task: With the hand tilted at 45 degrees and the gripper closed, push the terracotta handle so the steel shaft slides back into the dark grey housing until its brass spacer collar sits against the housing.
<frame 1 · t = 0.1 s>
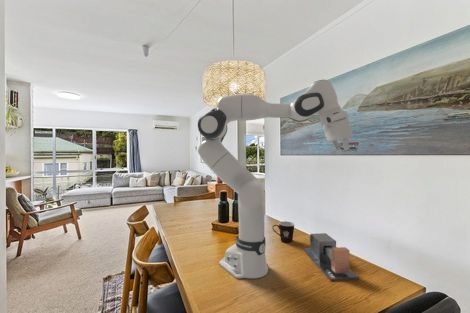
hand: (342, 149, 94), 52 cm above the table, tool tilted 20°, fingers open, 8 cm apart
coffee mug: (284, 240, 131), on the table
housing: (326, 261, 106), on the table
shaft: (331, 252, 101), point 7 cm above the table, slide at 7.0 cm
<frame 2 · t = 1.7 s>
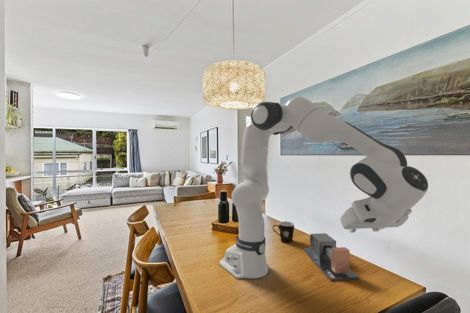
hand: (362, 230, 80), 24 cm above the table, tool tilted 45°, fingers open, 7 cm apart
nothing on the table moved.
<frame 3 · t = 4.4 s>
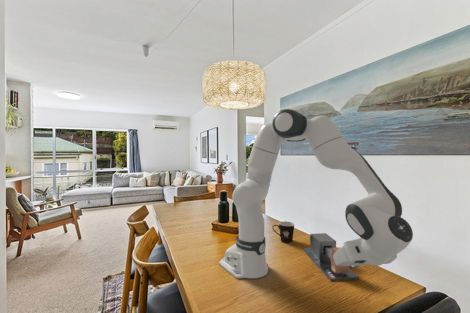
hand: (354, 264, 84), 9 cm above the table, tool tilted 45°, fingers closed
nothing on the table moved.
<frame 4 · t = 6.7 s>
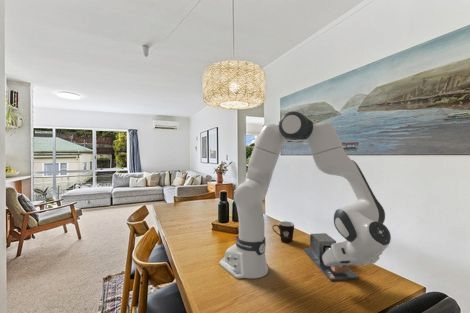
hand: (342, 264, 92), 5 cm above the table, tool tilted 45°, fingers closed, pressing on shaft
shaft: (331, 251, 101), point 7 cm above the table, slide at 6.5 cm, touching gripper
everything else where it was.
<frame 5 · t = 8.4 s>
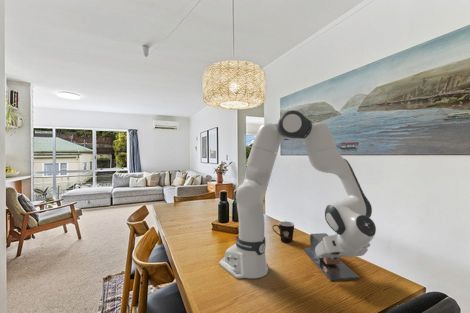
hand: (333, 257, 99), 5 cm above the table, tool tilted 45°, fingers closed, pressing on shaft
shaft: (324, 245, 108), point 7 cm above the table, slide at 0.0 cm, touching gripper
everything else where it was.
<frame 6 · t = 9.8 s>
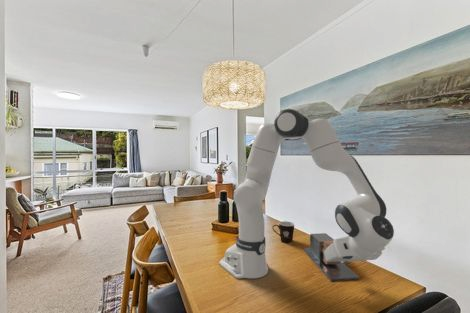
hand: (344, 260, 91), 7 cm above the table, tool tilted 45°, fingers closed
shaft: (324, 245, 108), point 7 cm above the table, slide at 0.0 cm
everything else where it was.
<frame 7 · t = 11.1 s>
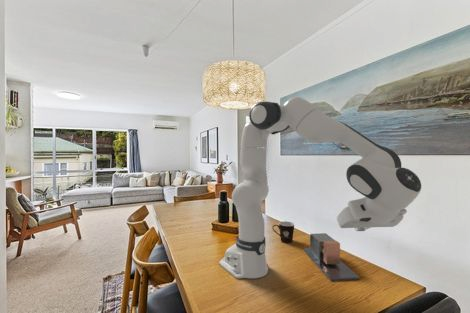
hand: (358, 229, 82), 23 cm above the table, tool tilted 45°, fingers closed
nothing on the table moved.
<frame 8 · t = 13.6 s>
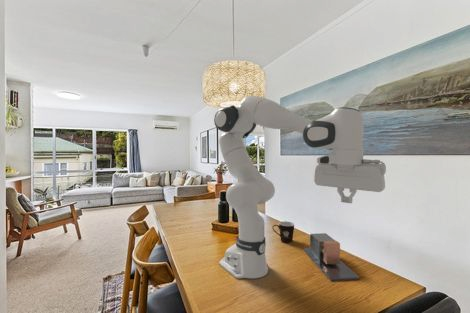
hand: (346, 202, 72), 35 cm above the table, tool pointing down, fingers closed
nothing on the table moved.
at the end: shaft slide at 0.0 cm; coffee mug moved 0.2 cm from its start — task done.
